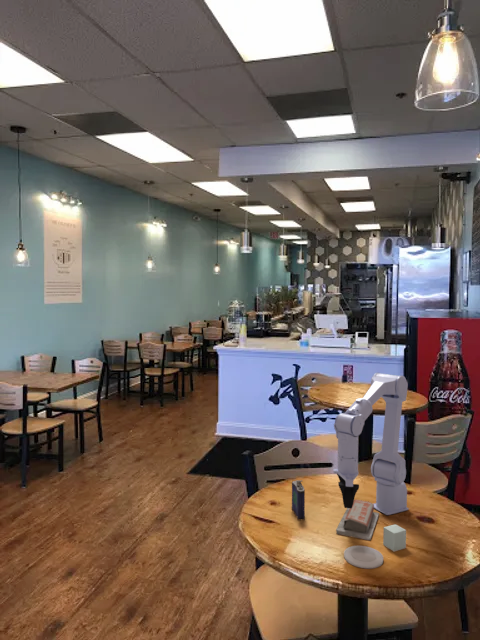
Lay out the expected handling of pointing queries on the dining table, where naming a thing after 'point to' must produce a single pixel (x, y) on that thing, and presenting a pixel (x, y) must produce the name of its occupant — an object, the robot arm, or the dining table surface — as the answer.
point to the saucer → (363, 557)
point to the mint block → (394, 537)
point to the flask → (298, 499)
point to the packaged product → (358, 520)
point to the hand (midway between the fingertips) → (347, 502)
